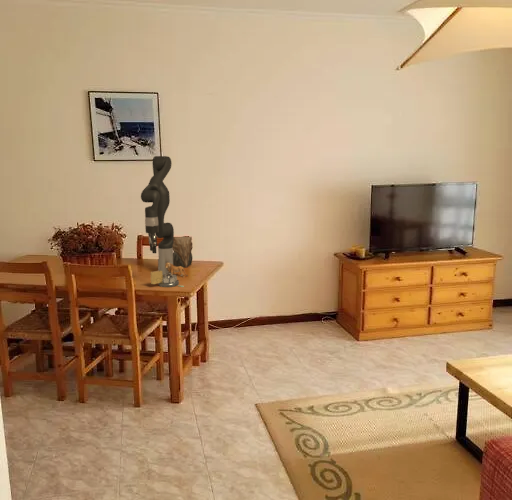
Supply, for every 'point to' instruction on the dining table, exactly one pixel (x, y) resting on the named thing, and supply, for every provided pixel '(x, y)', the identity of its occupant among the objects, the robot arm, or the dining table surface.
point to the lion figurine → (174, 269)
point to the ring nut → (162, 277)
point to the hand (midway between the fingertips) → (153, 251)
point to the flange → (169, 283)
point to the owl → (182, 251)
